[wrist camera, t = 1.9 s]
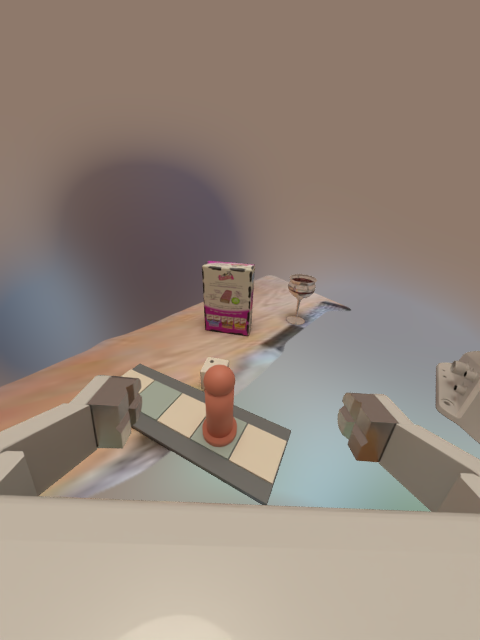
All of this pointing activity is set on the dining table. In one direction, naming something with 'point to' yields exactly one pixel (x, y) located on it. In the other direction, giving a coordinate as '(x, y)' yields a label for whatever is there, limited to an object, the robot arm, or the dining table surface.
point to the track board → (187, 437)
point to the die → (210, 363)
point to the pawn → (219, 406)
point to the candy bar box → (228, 296)
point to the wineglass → (300, 292)
